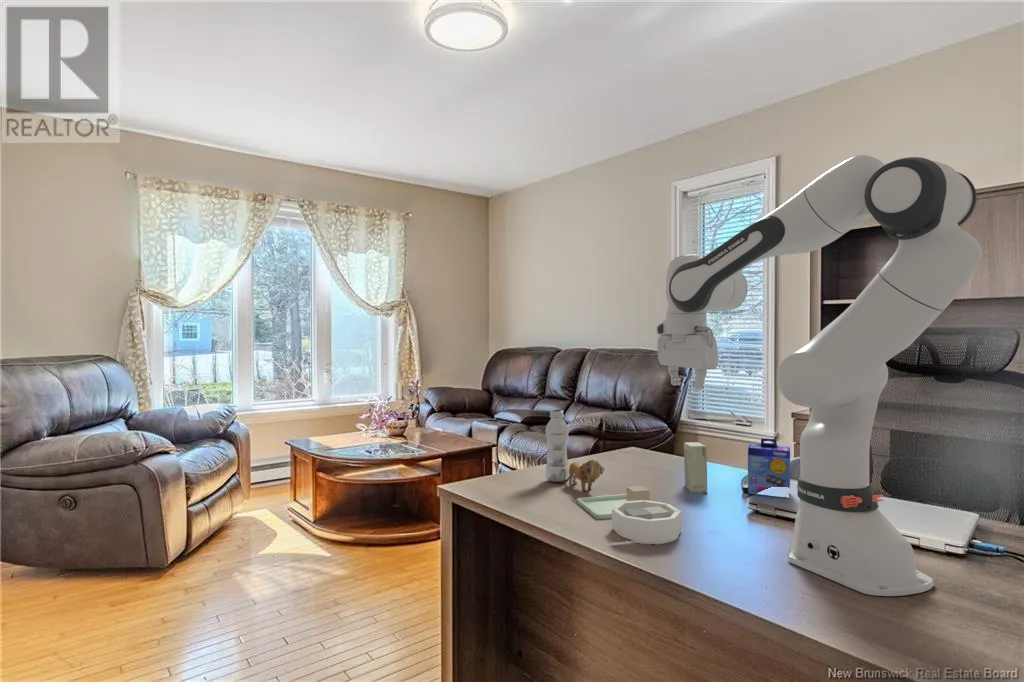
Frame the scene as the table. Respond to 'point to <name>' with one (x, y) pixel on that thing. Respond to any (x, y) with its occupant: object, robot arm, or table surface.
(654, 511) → the pale grey cube
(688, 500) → the table surface
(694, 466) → the skincare box
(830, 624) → the table surface
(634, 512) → the gray cube
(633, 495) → the tan cube
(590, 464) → the lion figurine
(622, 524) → the bowl
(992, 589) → the table surface
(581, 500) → the tray
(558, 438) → the plastic bottle
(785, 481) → the ink cartridge box
